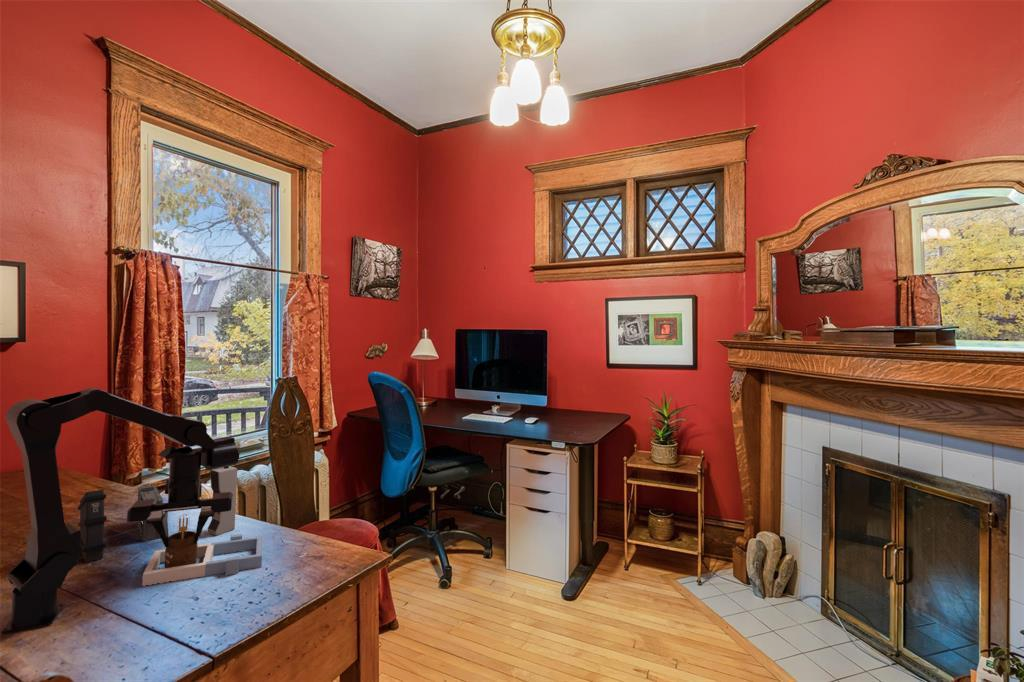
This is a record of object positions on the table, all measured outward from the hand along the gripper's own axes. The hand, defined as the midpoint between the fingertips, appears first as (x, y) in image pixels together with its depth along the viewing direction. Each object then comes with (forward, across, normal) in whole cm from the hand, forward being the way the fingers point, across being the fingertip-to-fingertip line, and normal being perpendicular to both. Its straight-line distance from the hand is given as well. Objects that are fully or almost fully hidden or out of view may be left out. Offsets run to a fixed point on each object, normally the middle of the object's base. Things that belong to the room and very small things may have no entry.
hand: (181, 544), depth 103 cm
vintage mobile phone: (+6, -6, -19) cm, 21 cm away
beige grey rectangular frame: (+5, -5, 0) cm, 7 cm away
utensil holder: (+5, 0, 0) cm, 5 cm away
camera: (+6, +11, -27) cm, 30 cm away
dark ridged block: (+6, +20, -17) cm, 27 cm away
